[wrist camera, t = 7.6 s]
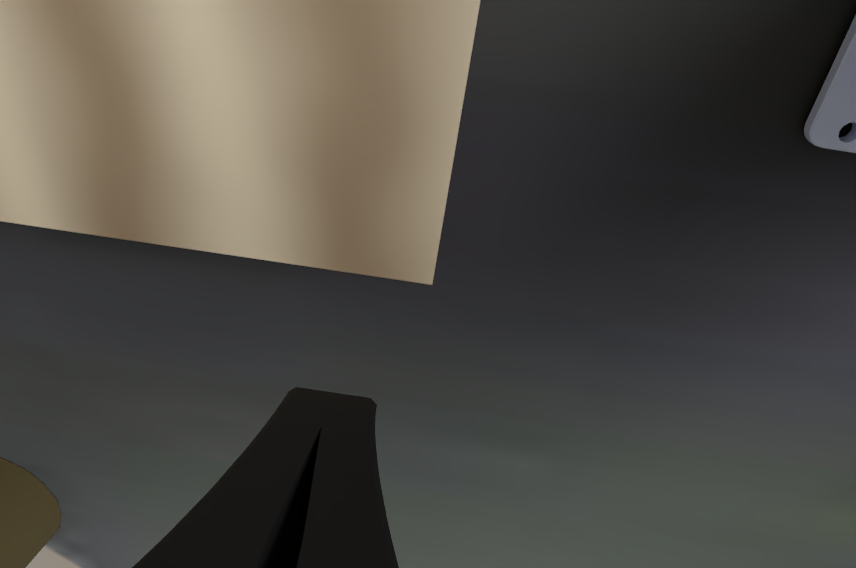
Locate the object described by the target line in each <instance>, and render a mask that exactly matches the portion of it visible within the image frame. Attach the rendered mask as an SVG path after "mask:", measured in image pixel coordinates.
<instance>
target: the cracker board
mask: <svg viewBox="0 0 856 568" xmlns="http://www.w3.org/2000/svg"><path fill="white" fill-rule="evenodd" d="M479 6H480V0H0V221H2V222H9V223H16V224H23V225H29V226H36V227H43V228H50V229H57V230H63V231H70V232H77V233H84V234H91V235H97V236H104V237H111V238H118V239H124V240H131V241H138V242H145V243H152V244H158V245H165V246H172V247H179V248H186V249H192V250H199V251H206V252H213V253H220V254H226V255H233V256H240V257H247V258H253V259H260V260H267V261H274V262H281V263H287V264H294V265H301V266H308V267H315V268H321V269H328V270H335V271H342V272H349V273H355V274H362V275H369V276H376V277H382V278H389V279H396V280H403V281H410V282H416V283H423V284H430V285H432V283H433V277H434V272H435V266H436V260H437V254H438V248H439V242H440V236H441V230H442V224H443V218H444V213H445V207H446V201H447V195H448V189H449V183H450V177H451V171H452V165H453V159H454V153H455V148H456V142H457V136H458V130H459V124H460V118H461V112H462V106H463V100H464V94H465V89H466V83H467V77H468V71H469V65H470V59H471V53H472V47H473V41H474V35H475V29H476V24H477V18H478V12H479Z"/></svg>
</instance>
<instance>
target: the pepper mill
mask: <svg viewBox="0 0 856 568" xmlns="http://www.w3.org/2000/svg"><path fill="white" fill-rule="evenodd" d="M60 521H61V512H60V509H59V506H58V503H57V501H56V498H55V497H54V496H53V495H52V494H51V492H50V491H49V490H48V489H47V487H46V486H45V485H44V484H43V483H42V482H41V481H39V480H38V479H37V478H36V477H34V476H33V475H32V474H30V473H29V472H28V471H26V470H25V469H23V468H21V467H19V466H17V465H15V464H13V463H11V462H9V461H7V460H5V459H3V458H0V568H25V567H26V566H27V565H28V564H29V563H30V562H31V560H32V559H33V558H34V557H35V556H36V555H37V554H38V552H39V551H40V550H41V549H42V548H43V547H44V545H45V544H46V543H47V542H48V541H49V540H50V539H51V537H52V536H53V535H54V534H55V532H56V531H57V530H58V529H59V527H60Z"/></svg>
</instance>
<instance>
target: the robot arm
mask: <svg viewBox="0 0 856 568" xmlns="http://www.w3.org/2000/svg"><path fill="white" fill-rule="evenodd" d="M848 123H852V124H853V125H852V129H851V131H850V132H849V133H848V134H847V135H846V136H844V137H841V138H839V137H838V136H839V131H840V130H841V128H842V127H843V126H844V125H846V124H848ZM804 135H805V137H806V139H807V140H808V141H809V142H810V143H812V144H813V145H815V146H818V147H821V148H826V149H833V150H839V151H846V152H852V153H856V15H855V17H854V19H853V21H852V24H851V26H850V28H849V30H848V32H847V34H846V37H845V39H844V41H843V43H842V45H841V47H840V49H839V52H838V54H837V56H836V58H835V60H834V62H833V65H832V67H831V69H830V71H829V73H828V75H827V78H826V80H825V82H824V84H823V86H822V88H821V90H820V93H819V95H818V97H817V99H816V101H815V103H814V106H813V108H812V110H811V112H810V114H809V116H808V119H807V121H806V123H805V127H804ZM376 406H377V405H376V403H375V402H374V401H373V400H372V399H371V398H366V397H359V396H352V395H345V394H339V393H332V392H325V391H318V390H312V389H305V388H298V387H296V388H294V389H292V390H291V391H289V392H288V394H287V395H286V397H285V398H284V400H283V401H282V403H281V404H280V406H279V407H278V408H277V410H276V411H275V413H274V414H273V415H272V417H271V418H270V419H269V421H268V422H267V423H266V425H265V426H264V427H263V428H262V430H261V431H260V432H259V433H258V435H257V436H256V437H255V438H254V440H253V441H252V442H251V443H250V445H249V446H248V447H247V448H246V450H245V451H244V452H243V453H242V454H241V455H240V457H239V458H238V459H237V460H236V461H235V462H234V463H233V465H232V466H231V467H230V468H229V469H228V470H227V472H226V473H225V474H224V475H223V476H222V477H221V478H220V480H219V481H218V482H217V483H216V484H215V485H214V486H213V487H212V489H211V490H210V491H209V492H208V493H207V494H206V495H205V496H204V497H203V498H202V499H201V500H200V501H199V502H198V503H197V504H196V505H195V506H194V507H193V508H192V509H191V510H190V511H189V513H188V514H187V515H186V516H185V517H184V518H183V519H182V520H181V521H180V522H179V523H178V524H177V525H176V526H175V527H174V528H173V529H172V530H171V531H170V532H169V533H168V534H167V535H166V536H165V537H164V538H163V539H162V540H161V541H160V542H159V543H158V544H157V545H156V546H155V547H154V548H153V549H152V550H151V551H149V552H148V553H147V554H146V555H145V556H144V557H143V558H142V559H141V560H140V561H139V562H138V563H137V564H136V565H135V566H133V567H132V568H399V567H398V563H397V559H396V555H395V551H394V547H393V543H392V539H391V535H390V530H389V526H388V521H387V517H386V511H385V506H384V500H383V495H382V490H381V484H380V478H379V471H378V463H377V453H376V441H375V413H376Z"/></svg>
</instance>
